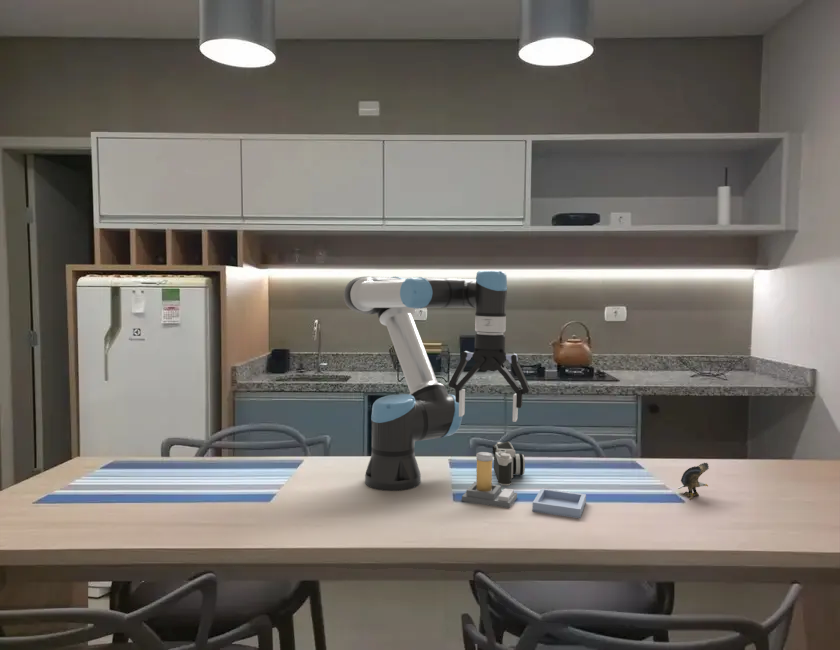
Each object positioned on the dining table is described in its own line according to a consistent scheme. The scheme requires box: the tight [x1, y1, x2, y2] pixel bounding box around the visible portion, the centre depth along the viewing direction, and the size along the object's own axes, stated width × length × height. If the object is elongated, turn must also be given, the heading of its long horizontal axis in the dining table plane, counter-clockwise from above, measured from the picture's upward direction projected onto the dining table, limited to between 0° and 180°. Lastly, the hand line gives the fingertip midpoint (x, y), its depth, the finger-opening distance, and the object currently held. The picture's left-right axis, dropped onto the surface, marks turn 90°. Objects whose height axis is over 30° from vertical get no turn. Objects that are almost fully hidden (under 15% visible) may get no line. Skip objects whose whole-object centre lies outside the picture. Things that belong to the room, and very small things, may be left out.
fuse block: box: [461, 481, 518, 509], centre depth 146 cm, size 12×8×3 cm, turn 68°
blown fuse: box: [476, 451, 494, 492], centre depth 147 cm, size 4×4×10 cm
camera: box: [492, 441, 526, 486], centre depth 165 cm, size 16×9×10 cm, turn 179°
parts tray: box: [532, 487, 587, 519], centre depth 141 cm, size 11×11×2 cm
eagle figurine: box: [677, 462, 710, 501], centre depth 150 cm, size 8×7×9 cm
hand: (487, 418), depth 146 cm, fingers open, 13 cm apart
